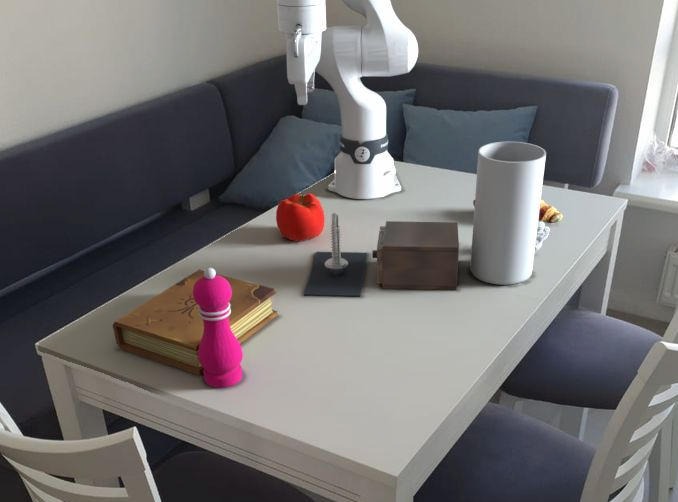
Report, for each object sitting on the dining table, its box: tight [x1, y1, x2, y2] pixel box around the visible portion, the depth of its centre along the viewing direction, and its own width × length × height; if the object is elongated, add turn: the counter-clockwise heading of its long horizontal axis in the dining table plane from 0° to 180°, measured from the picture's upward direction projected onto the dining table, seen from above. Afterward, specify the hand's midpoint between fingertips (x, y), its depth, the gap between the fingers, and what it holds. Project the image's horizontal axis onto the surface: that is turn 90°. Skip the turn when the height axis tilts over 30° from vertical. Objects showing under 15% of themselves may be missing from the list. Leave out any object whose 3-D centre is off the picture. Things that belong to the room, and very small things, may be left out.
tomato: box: [275, 192, 326, 242], centre depth 179 cm, size 11×12×9 cm
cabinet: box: [382, 220, 460, 291], centre depth 161 cm, size 15×13×9 cm
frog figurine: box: [534, 221, 551, 253], centre depth 170 cm, size 6×7×7 cm
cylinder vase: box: [469, 141, 547, 286], centre depth 157 cm, size 12×12×25 cm
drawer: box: [371, 225, 386, 284], centre depth 161 cm, size 15×11×7 cm
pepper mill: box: [193, 267, 244, 389], centre depth 127 cm, size 7×7×20 cm
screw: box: [325, 212, 348, 275], centre depth 161 cm, size 13×5×5 cm
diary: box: [111, 269, 278, 376], centre depth 144 cm, size 23×19×6 cm
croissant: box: [472, 198, 564, 224], centre depth 186 cm, size 21×10×8 cm, turn 68°
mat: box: [304, 251, 368, 298], centre depth 165 cm, size 20×11×1 cm, turn 175°
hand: (306, 97), depth 154 cm, fingers open, 8 cm apart
